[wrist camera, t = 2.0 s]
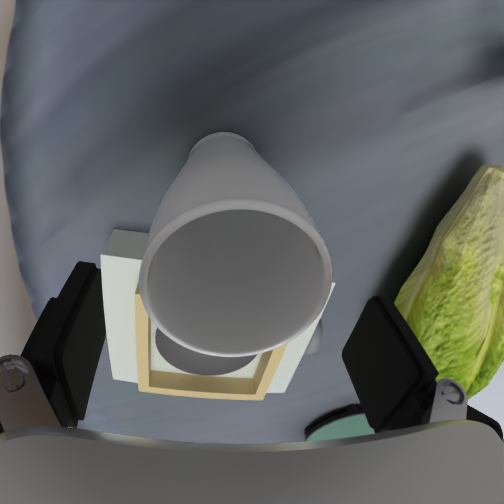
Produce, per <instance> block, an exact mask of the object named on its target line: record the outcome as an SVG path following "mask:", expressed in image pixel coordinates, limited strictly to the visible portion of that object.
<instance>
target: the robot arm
mask: <svg viewBox="0 0 504 504" xmlns="http://www.w3.org/2000/svg"><path fill="white" fill-rule="evenodd" d="M105 335H106V328H105V318H104V307H103V293H102V276H101V269H98V268H96V265H95V263H88V262H82V261H79V262H78V263H77V264H76V266H75V267H74V269H73V271H72V273H71V274H70V276H69V278H68V279H67V281H66V283H65V285H64V287H63V288H62V290H61V292H60V294H59V296H58V297H57V298H54V297H52V298H50V300H49V301H48V303H47V305H46V306H45V308H44V310H43V312H42V314H41V316H40V318H39V319H38V321H37V323H36V325H35V327H34V329H33V331H32V333H31V335H30V337H29V339H28V341H27V343H26V345H25V347H24V350H23V352H22V354H21V356H19V355H5V356H2V357H0V504H504V439H503V432H502V429H501V426H500V425H499V423H498V422H497V421H495V420H493V419H492V418H490V417H488V416H487V415H485V414H483V413H481V412H479V411H477V410H476V409H474V408H472V407H470V406H469V405H467V401H468V400H467V394H466V392H465V390H464V389H463V387H462V386H461V385H460V384H459V383H458V382H456V381H454V380H452V379H449V378H443V379H440V380H439V381H438V382H436V380H435V379H436V377H437V376H438V375H439V372H438V371H437V369H436V367H435V366H434V364H433V362H432V361H431V359H430V358H429V356H428V354H427V353H426V351H425V350H424V348H423V346H422V345H421V343H420V342H419V340H418V339H417V337H416V336H415V334H414V333H413V331H412V329H411V328H410V326H409V325H408V323H407V322H406V320H405V319H404V317H403V316H402V314H401V313H400V312H399V310H398V309H397V307H396V306H395V304H394V303H393V301H392V300H391V298H390V297H388V296H377V295H376V296H373V297H372V299H369V300H368V302H367V304H366V306H365V308H364V310H363V312H362V314H361V316H360V318H359V320H358V322H357V324H356V326H355V327H354V329H353V331H352V333H351V335H350V337H349V339H348V341H347V343H346V345H345V346H344V348H343V351H342V359H343V361H344V364H345V366H346V369H347V371H348V373H349V376H350V378H351V381H352V383H353V386H354V388H355V391H356V393H357V396H358V398H359V401H360V403H361V406H362V408H363V411H364V413H365V416H366V418H367V421H368V424H369V426H370V427H371V428H373V430H374V432H375V434H368V435H362V436H354V437H347V438H338V439H329V440H319V441H308V442H293V443H272V444H216V443H195V442H180V441H169V440H159V439H149V438H140V437H132V436H125V435H118V434H111V433H105V432H98V431H91V430H84V429H78V428H77V424H78V420H83V419H84V417H85V413H86V408H87V404H88V400H89V396H90V392H91V388H92V384H93V380H94V376H95V372H96V369H97V365H98V361H99V358H100V354H101V351H102V347H103V344H104V341H105ZM68 426H69V427H73V428H67V427H68Z"/></svg>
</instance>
